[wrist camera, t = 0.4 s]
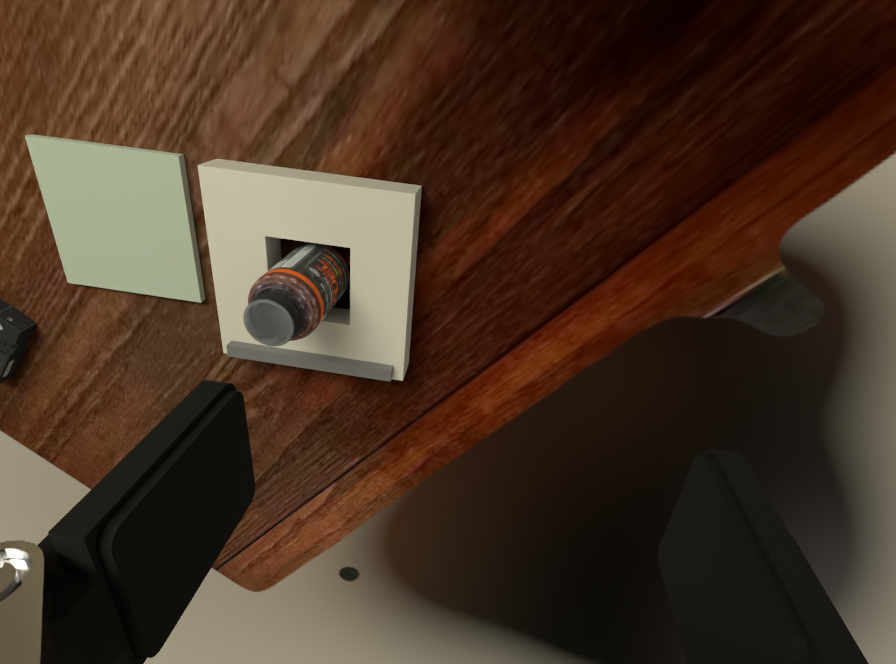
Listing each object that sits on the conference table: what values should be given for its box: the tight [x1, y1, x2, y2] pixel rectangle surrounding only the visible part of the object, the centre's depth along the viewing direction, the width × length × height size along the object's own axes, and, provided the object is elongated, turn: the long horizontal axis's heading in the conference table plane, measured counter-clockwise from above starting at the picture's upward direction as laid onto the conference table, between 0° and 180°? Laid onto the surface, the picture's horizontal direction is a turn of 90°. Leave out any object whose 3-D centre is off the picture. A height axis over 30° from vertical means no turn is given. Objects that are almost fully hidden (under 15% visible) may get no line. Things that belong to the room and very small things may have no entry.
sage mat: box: [25, 134, 205, 303], centre depth 47 cm, size 14×14×1 cm
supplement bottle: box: [243, 242, 349, 346], centre depth 42 cm, size 6×6×11 cm
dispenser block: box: [198, 159, 422, 382], centre depth 46 cm, size 18×18×4 cm
